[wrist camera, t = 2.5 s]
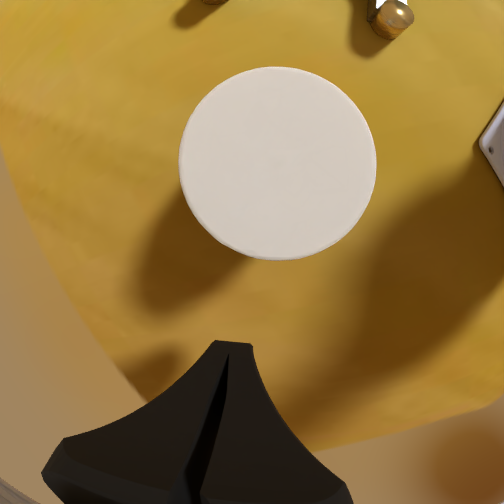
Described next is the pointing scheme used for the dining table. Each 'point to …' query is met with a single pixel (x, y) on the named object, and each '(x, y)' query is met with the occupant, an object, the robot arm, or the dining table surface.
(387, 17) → the snap ring
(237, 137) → the pill bottle
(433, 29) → the dining table surface
